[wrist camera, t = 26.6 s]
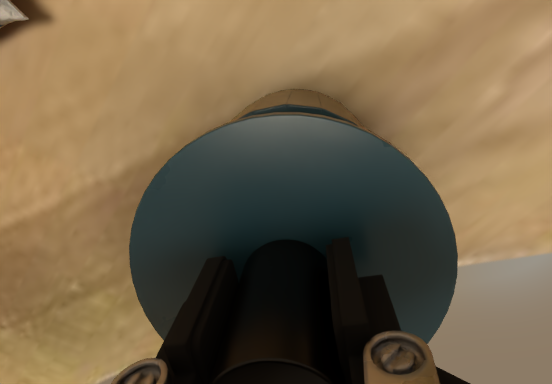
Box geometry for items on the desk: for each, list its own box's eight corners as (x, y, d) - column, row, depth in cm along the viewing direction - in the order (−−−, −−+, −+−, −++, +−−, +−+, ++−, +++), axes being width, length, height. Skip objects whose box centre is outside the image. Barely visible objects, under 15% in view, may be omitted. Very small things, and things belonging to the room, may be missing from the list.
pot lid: (190, 388, 16) (124, 576, 10) (98, 145, 12) (-82, 222, 7) (454, 362, 14) (553, 567, 9) (434, 74, 11) (577, 96, 5)
